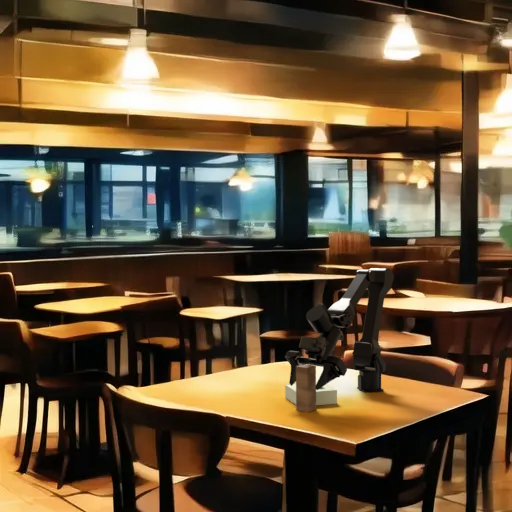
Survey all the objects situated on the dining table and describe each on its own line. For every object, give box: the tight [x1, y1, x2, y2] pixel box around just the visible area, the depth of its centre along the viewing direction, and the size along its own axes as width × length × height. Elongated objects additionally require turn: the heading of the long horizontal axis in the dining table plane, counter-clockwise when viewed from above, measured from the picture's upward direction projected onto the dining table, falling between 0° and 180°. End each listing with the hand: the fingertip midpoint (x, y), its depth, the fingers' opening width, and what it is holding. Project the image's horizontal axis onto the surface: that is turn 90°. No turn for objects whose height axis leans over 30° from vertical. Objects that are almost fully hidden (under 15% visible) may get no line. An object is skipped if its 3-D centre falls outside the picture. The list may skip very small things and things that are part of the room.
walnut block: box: [295, 364, 317, 413], centre depth 210 cm, size 4×4×12 cm
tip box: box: [284, 381, 338, 406], centre depth 221 cm, size 12×12×4 cm
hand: (303, 386), depth 209 cm, fingers open, 9 cm apart
